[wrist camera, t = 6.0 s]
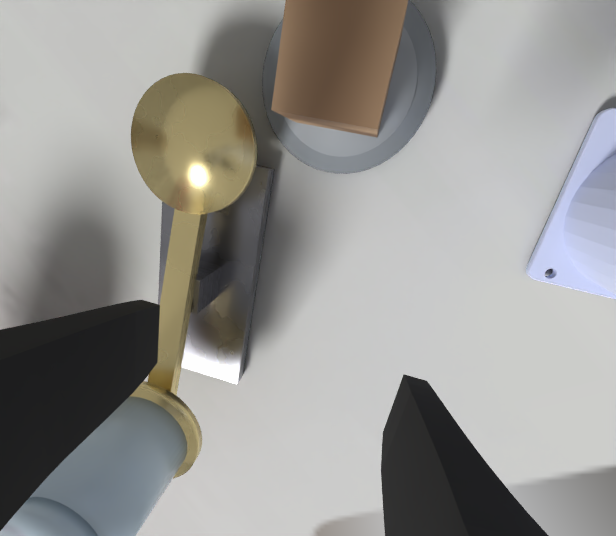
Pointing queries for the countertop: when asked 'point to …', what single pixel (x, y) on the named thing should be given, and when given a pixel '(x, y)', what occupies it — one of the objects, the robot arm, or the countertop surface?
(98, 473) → the pale blue lidded jar
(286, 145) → the dish
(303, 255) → the countertop surface
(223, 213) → the balance
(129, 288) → the countertop surface
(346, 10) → the block
